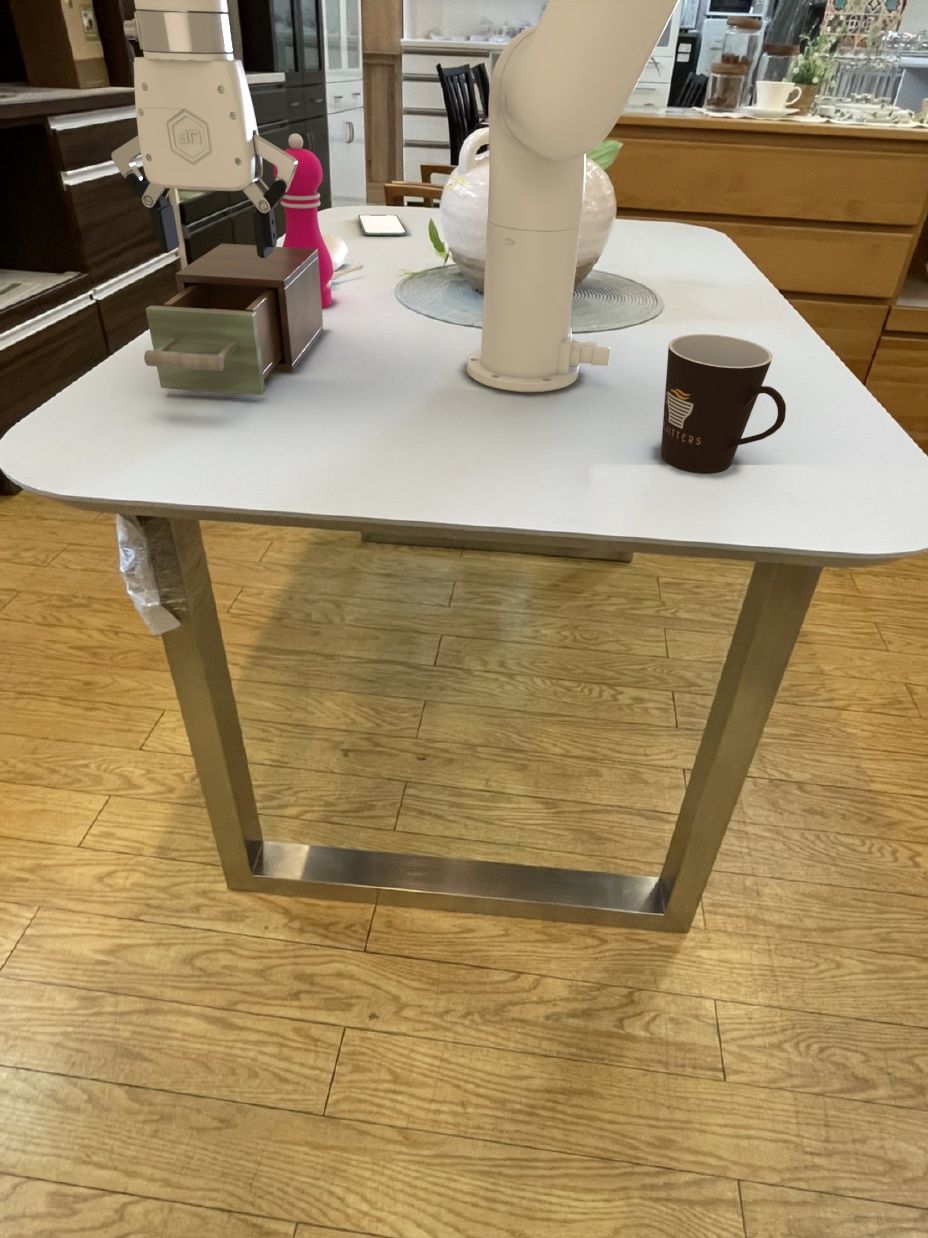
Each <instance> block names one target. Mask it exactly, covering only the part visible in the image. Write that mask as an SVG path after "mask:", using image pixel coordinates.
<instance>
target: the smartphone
mask: <svg viewBox="0 0 928 1238" xmlns="http://www.w3.org/2000/svg"><path fill="white" fill-rule="evenodd" d="M357 218H358V221H359V223H360V226H361V229H362V231H363V234H364V235H365V236H405V235H407V230H406V228H405V227H404V225H403V222H402V221H401V219H400V217H399V215H396V214H358V216H357Z"/></svg>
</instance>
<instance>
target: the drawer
mask: <svg viewBox="0 0 928 1238" xmlns="http://www.w3.org/2000/svg"><path fill="white" fill-rule="evenodd" d="M212 308H213V309H212ZM216 309H229V310H216ZM232 310H245V311H232ZM145 313H146V319H147V323H148V328H149V329H148V330H149V333H150V339H151V344H152V349H147V350H145V352H144V355H143V356H144V357H143V358H144V364H145V365H146V366H147V367H156V368H157V374H158V379H159V384H160V388H161V389H168V390H184V391H197V392H211V393H212V392H215V393H227V394H241V395H243V394H244V395H255V396H263V394H264V393H265V391H266V387H265V379H266V378H267V376H269V374H270V373H271V372H272V371H274V370H273V368H274V367H275V366H276V365H277V363H278V362H279V361H280V360H281V359H282V357H283V356H284V346H283V336H282V326H281V316H280V306H279V296H278V288H269V287H253V286H236V285H220V284H203V283H193V284H191V285H190V286H188V287H187V288H186V289H184V290H183V291H181V292H180V293H179V294H178V293H177V294H176V295H174V296H173V297H171V298H170V299H169V300H167V301H166V302H165V303H163V305H152V304H151V305H149V306H148V307H146V308H145Z"/></svg>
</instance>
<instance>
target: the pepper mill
mask: <svg viewBox="0 0 928 1238" xmlns="http://www.w3.org/2000/svg"><path fill="white" fill-rule="evenodd" d="M288 146H289V147H290V148H285V149H284V150H283V151H285V152H286V153H288V154H289V155H291V156H293V157H294V158H295V159H296V160H297V162H298V165H297V168H296V171H295V174H294V176H293V179H292V181H291V184H290V188H289V190H288V192H287V193H286V194H285V195H284V196H283V198H282V199H281V200H280V205H281V206H283V208H284V214H285V227H286V228H285V236H284V239H283V243H282V246H281V247H290V248H308V249H318V261H319V276H320V290H321V304H322V309H325V308H326V307H329V306H330V305H331V304H332V298H333V297H332V289H331V287H327V284H328V282H329V281H332V280H331V278H332V276H333V264H332V260H331V257H330V254H329V251H328V249H327V247H326V245H325V243H324V240H323V238H322V236H321V235H322V233H321V229H320V226H319V225H320V224H319V218H318V213H319V212H318V210H319V209H318V207H320V206H321V201H320V197H321V194H320V193H319V192H318V188H319V187H320V185H321V183H322V182H323V177H324V175H323V168H322V164H321V161H320V159H319V158H318V157H317V155H316V154H314V153H313V152H312V151H310V150H308V149H305V148H303V146H304V139H303V137H302V136H301V134H298V133H292V134H290V135H289V136H288ZM277 173H278V170H277V167H276V166H275V165H274V164H273V176H274V179H275V180H276V177H277Z"/></svg>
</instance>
